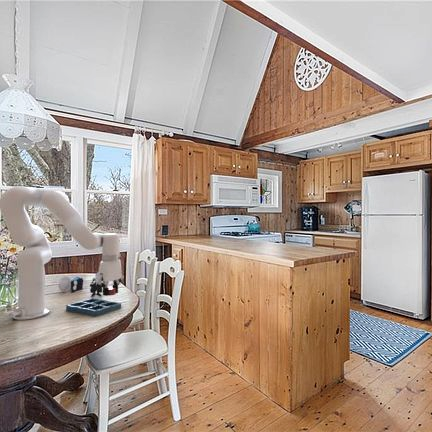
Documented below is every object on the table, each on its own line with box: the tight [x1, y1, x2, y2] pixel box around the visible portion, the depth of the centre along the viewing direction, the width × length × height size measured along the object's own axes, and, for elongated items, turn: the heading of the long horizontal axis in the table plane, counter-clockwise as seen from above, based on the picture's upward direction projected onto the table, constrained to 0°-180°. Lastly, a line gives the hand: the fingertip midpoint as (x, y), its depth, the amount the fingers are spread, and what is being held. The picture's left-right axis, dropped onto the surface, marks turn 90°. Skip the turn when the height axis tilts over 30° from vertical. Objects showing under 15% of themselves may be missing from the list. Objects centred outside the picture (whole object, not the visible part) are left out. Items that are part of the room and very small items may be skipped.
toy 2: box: [89, 271, 103, 298], centre depth 181 cm, size 8×20×15 cm
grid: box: [65, 297, 122, 318], centre depth 152 cm, size 14×20×3 cm
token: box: [107, 287, 117, 297], centre depth 153 cm, size 5×5×3 cm
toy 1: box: [57, 276, 84, 294], centre depth 185 cm, size 9×11×15 cm
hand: (110, 293), depth 153 cm, fingers closed on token, 4 cm apart
